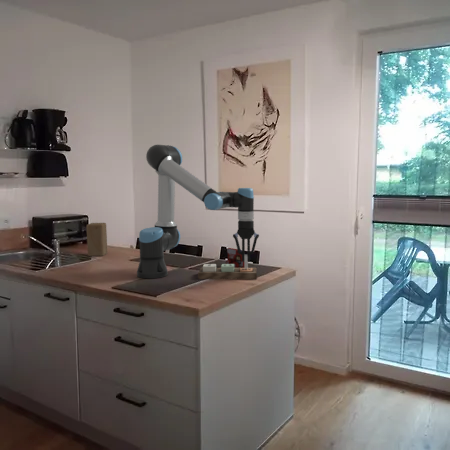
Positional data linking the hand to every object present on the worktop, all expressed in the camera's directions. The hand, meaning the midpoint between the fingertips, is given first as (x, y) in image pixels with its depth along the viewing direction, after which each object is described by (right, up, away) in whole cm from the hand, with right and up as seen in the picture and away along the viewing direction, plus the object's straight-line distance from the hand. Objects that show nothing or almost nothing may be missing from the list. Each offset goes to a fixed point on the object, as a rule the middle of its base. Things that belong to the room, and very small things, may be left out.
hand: (246, 268), depth 219 cm
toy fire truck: (-4, -2, +21) cm, 21 cm away
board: (-9, -4, +1) cm, 10 cm away
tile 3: (0, -4, 0) cm, 4 cm away
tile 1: (-18, -2, +1) cm, 18 cm away
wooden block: (-91, +2, +65) cm, 111 cm away
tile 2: (-9, -2, +1) cm, 9 cm away
